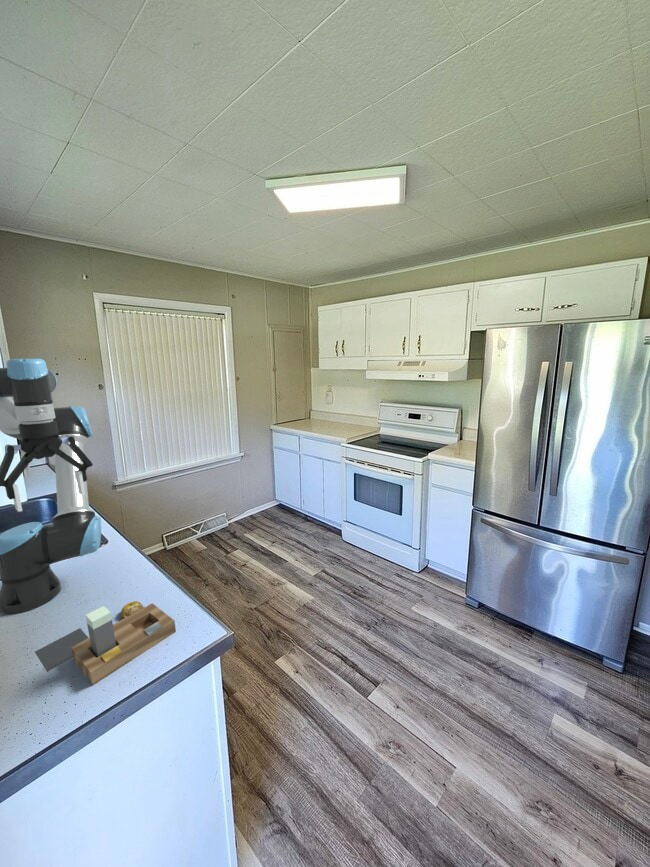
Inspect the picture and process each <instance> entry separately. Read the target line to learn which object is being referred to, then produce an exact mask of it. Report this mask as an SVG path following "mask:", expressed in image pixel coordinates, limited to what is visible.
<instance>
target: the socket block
mask: <svg viewBox="0 0 650 867" xmlns="http://www.w3.org/2000/svg"><path fill="white" fill-rule="evenodd" d="M113 629H114V635H115V641H116V647H114V648H113V649H111V650H109V651H107V652H106V653H104V654H102V655H101V656H99V657H97V658H96V657H95V656H94V655H93V654H92V648H91V643H90V637H88V639H86V640H84V641H82V642H81V643H79V644H77V645H75V646H73V647H71V649H72V654H73V658H72V659H73V662H75V664H76V665H77V667H78V668H79V669H80V671H81V672H82V674H84V676H85V677H86V678H87V681H89V682H90V684H91V685H92V686H95V685H96V684H98V683H99V682H101V681H102V680H103V679H105V678H107V677H108V676H110V675H112V674H113V673H115V672H117V671H118V670H119V669H121V668H122V667H124V666H126V665H127V664H129V663H131V662H132V661H133V660H134V659H136V658H138V657H139V656H141V655H143V654H144V653H145V652H147V651H149V650H151V649H152V648H153V647H155V646H157V645H158V644H160V643H161V642H163V641H164V640H165V639H168V638H169V637H170V636H172V635H173V634H175V633H176V632H177V631H176V622H175V619H173V618H172V617H170V615H169V614H167V613H165V612H164V611H163V610H161V609H160V608H159V607H158V606H157V605H155V604H154V603H150V604H148V605H146V606H143V609H141V610H139V611H137V612H135V613H133V614H132V615H130V616H128V617H126V618H124V619H122V618H121V620H119V621H117V622H115V623H114V624H113Z"/></svg>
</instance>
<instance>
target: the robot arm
mask: <svg viewBox="0 0 650 867" xmlns="http://www.w3.org/2000/svg"><path fill="white" fill-rule="evenodd" d="M57 385H58V379H57V377H56V374H54V372H53V371H51V370H50V369H48V366H47V363H46V360H44V359H43V358H9V359H8V360H7V361H6V367H0V432H1V433H3V434H4V435H6V436H8V437H11V438H14V439H17V440H20V441H21V442H20V443H19V444H6V445H4V452H5V453H4V456H3V459H2V461H1V463H0V487H4V489H5V492H6V493H5V494H6V497H7V498H8V499H9V500H13V502H14V503H13V504H14V508H15V510H16V511H17V512H18V513H20V512H23V508H22V502H21V497H20V492H19V487H18V485H17V484H15V483H16V482H17V480H18V479H19V478H20V476H21V475H22V473H23V472H24V471H25V469H26V468H28V466H29V465H30V463H31V462H32V461H33V460H34V459H36V460H41V459H44V458H51V457H54V472H55V485H56V486H55V487H56V488H55V489H56V503H57V504H56V505H57V513H56V514H54V516H53V517H52V518H51V521H52V522H51V523H52V524H51V525H44V526H43V524H42V523H41V521H32V522H27V523H22V524H20V525H17V526H14V527H11V528H10V529H7V530H5V531H4V532H2V533H0V580H1V587H0V612H1V613H3V614H6V613H7V614H8V615H12V614H13V615H14V614H21V613H24V612H28V611H31V610H33V609H34V610H35V609H36V608H38V607H41V606H42V605H43V606H44V605H45V604H47V603H48V602H50V601H51V600H53V599H54V598H56V597H57V596H58V595H59V593H60V592H61V590H62V587H61V586H62V585H61V581H60V579H59V578H58V576H57V575H56V573H54V571H53V570H52V568H51V564H52V563H57V562H60V561H65V560H70V559H73V558H78V557H84V556H85V555H86V556H87V555H90V554H93V553H95V552H97V551H98V550H99V548H100V545H101V538H102V520H101V517H100V516H99V515H96V512H95V510H92V509H91V508H90V504H89V503H90V502H89V493H88V483H87V482H88V481H87V480H88V478H87V470H88V468H91V467H92V466H93V462H92V461H91V460H90V459H89V457H88V456H87V455H86V454H85V448H84V446H86V445H87V444H88V442H89V438H91V437H93V432H92V427H91V424H90V422H89V418H88V414H87V411H86V409H85V408H84V407H82V406H71V405H70V406H69V405H68V406H66V407H65V406H64V407H54V402H53V397H52V393H53V392H54V391H55V390H56V389H57V388H56V387H57ZM20 450H21V451H22V452H24V454H23V456H22V457H21V459H20V461H19V462H18V463H17V464H16V466H15V467H14V469H13V470H11V472H10V473H9V475H8V472H9V471H10V467H11V464H12V463H13V460H14V458H15V455H16V454H18V452H19V451H20ZM7 475H8V476H7ZM6 477H7V478H6ZM7 614H6V615H7Z"/></svg>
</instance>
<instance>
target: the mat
mask: <svg viewBox="0 0 650 867" xmlns="http://www.w3.org/2000/svg"><path fill="white" fill-rule="evenodd" d="M88 638H89V636H88V635H87V634H86V633H85V632H84V631H83V629H82V628H80V627H79V628H77V629H76V630H73V631H72V632H70V633H68V634H66V635H64V636H62V637H60V638H59V639H56V640H55V641H53V642H50V643H49V644H46V645H45V646H42V647H41V648H39V649H37V650H35V651H34V652H35V654H36V656H37V657H38V659H39V660H40V662H41V664H42V665H43V667H44V669H45V670H46V672H49V671H51V670H53V669H55V668H57V667H58V666H61V665H62V664H63V663H66V662H67V661H69V660H71V659H73V654H72V649H71V647H73V646H75V645H77V644H79V643H81V642H82V641H84V640H86V639H88Z"/></svg>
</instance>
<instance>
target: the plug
mask: <svg viewBox="0 0 650 867" xmlns="http://www.w3.org/2000/svg"><path fill="white" fill-rule="evenodd" d="M85 620H86V624H87V631H88V638H90V643H91V648H92V654H93V655H94V656H95V657H96V658H97V657H99V656H101V655H102V654H104V653H106V652H107V651H109V650H111V649H113V648H114V647H116V641H115V635H114V629H113V618H112V613H111V611H110V610H109V609H108V608H107V607H106V606H105V605H103V606H100V607H98V608H97V609H95V610H93V611H91V612H88V613H87V614H85Z"/></svg>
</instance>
